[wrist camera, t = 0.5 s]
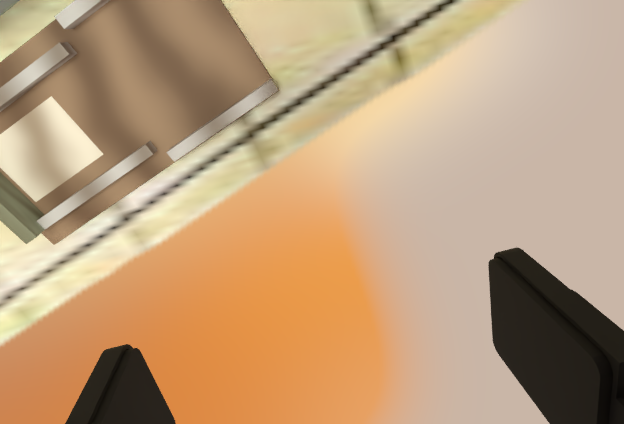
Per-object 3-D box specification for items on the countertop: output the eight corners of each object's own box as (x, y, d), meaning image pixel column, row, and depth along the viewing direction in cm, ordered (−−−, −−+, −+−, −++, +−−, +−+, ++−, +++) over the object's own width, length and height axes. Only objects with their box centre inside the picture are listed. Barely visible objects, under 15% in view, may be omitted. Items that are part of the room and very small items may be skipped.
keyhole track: (174, -71, 31) (163, -83, 28) (278, 89, 37) (280, 94, 33) (-73, 121, 35) (-107, 129, 32) (55, 242, 40) (38, 260, 37)
